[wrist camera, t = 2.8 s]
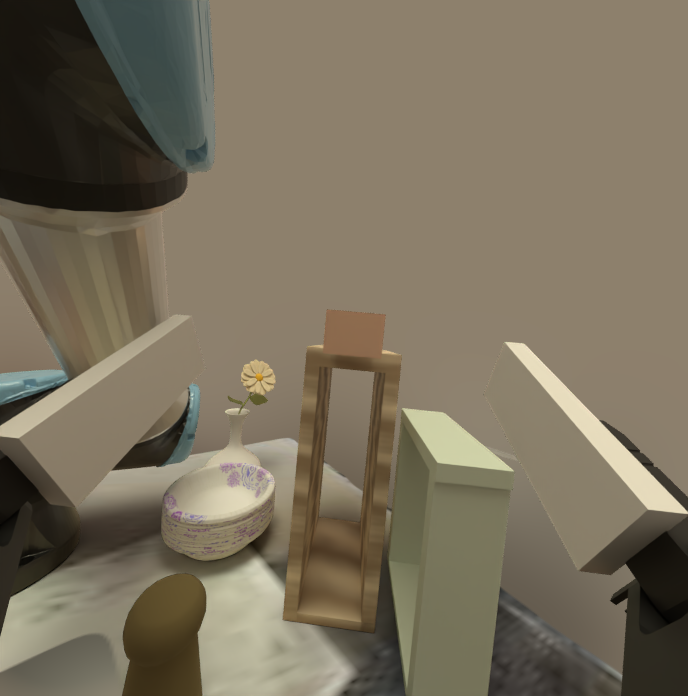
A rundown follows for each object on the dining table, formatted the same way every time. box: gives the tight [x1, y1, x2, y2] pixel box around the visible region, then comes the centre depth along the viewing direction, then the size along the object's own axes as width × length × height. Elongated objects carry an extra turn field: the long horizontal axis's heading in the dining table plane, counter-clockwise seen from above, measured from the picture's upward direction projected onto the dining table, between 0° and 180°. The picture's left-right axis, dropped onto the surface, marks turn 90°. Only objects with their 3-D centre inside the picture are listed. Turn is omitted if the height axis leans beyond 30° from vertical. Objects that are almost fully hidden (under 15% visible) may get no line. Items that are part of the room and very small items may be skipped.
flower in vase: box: [205, 360, 276, 467], centre depth 58 cm, size 13×11×25 cm
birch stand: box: [283, 345, 402, 633], centre depth 37 cm, size 16×10×30 cm, turn 177°
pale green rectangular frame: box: [387, 408, 515, 696], centre depth 30 cm, size 18×6×22 cm, turn 177°
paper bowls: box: [161, 463, 276, 560], centre depth 40 cm, size 15×15×8 cm
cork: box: [122, 573, 206, 696], centre depth 20 cm, size 6×6×11 cm
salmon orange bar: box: [323, 309, 386, 359], centre depth 31 cm, size 26×4×3 cm, turn 177°
